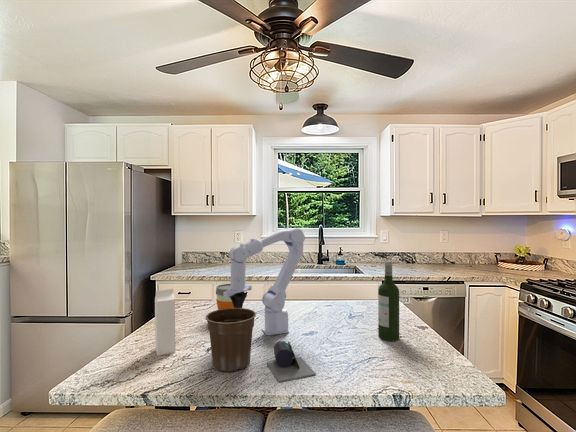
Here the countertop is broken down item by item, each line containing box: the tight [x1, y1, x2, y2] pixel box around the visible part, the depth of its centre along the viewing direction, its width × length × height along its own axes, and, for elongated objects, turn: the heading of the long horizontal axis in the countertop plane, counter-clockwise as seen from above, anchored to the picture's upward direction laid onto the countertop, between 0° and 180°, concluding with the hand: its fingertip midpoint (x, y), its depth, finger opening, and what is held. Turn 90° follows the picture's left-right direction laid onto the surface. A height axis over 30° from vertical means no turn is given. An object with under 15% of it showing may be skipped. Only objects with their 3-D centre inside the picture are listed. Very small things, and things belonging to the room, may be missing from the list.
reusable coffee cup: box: [215, 283, 234, 310], centre depth 151 cm, size 13×12×15 cm
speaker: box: [273, 340, 299, 369], centre depth 106 cm, size 8×6×10 cm
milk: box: [154, 288, 176, 357], centre depth 116 cm, size 6×6×22 cm
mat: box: [266, 356, 317, 383], centre depth 102 cm, size 12×12×1 cm
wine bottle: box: [377, 260, 400, 342], centre depth 127 cm, size 8×8×30 cm
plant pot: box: [205, 307, 257, 373], centre depth 106 cm, size 16×16×16 cm
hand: (238, 311), depth 127 cm, fingers closed
